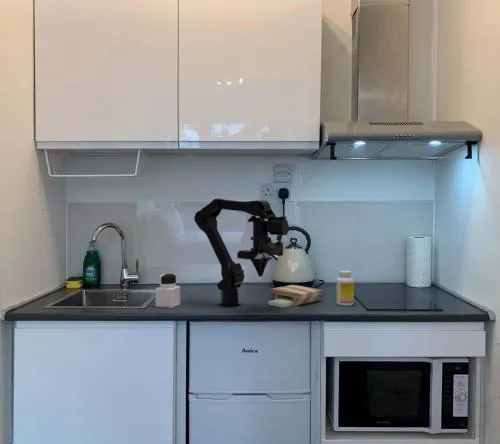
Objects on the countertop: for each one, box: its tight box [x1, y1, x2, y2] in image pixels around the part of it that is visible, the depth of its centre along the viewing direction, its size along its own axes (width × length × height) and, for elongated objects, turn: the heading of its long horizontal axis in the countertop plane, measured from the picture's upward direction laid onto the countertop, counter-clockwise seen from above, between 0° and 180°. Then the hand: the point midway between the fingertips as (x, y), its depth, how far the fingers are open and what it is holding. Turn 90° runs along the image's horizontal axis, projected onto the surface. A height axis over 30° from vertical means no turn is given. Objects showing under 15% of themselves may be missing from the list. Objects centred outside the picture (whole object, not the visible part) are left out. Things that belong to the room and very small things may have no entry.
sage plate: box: [267, 297, 295, 308], centre depth 189 cm, size 14×7×2 cm, turn 133°
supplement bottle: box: [335, 270, 355, 307], centre depth 187 cm, size 7×7×13 cm
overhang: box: [270, 284, 324, 306], centre depth 193 cm, size 14×16×5 cm
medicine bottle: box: [155, 273, 181, 309], centre depth 185 cm, size 7×7×12 cm
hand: (260, 276), depth 179 cm, fingers closed
